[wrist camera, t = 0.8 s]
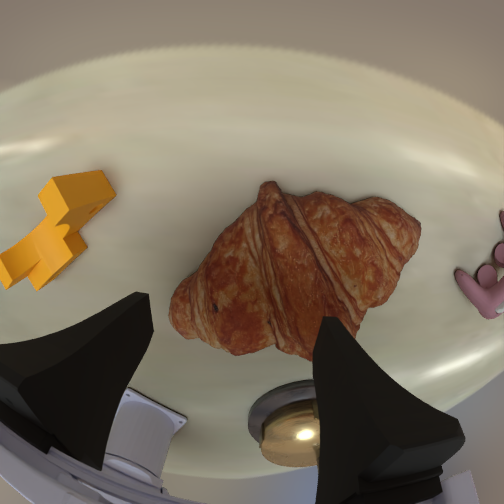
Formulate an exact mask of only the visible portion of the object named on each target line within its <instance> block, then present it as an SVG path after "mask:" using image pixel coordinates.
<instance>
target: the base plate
mask: <svg viewBox="0 0 504 504" xmlns="http://www.w3.org/2000/svg"><path fill="white" fill-rule="evenodd" d="M306 400H317V399H316V393H315V386H314V380H304V381H298V382H293V383H290V384H286V385H283V386H280V387H278V388H275V389H273V390H271V391H269V392H268V393H266V394H265V395H263V396H262V397H260V398H259V399H258V400H257V401H256V402H255V403H254V405H253V406H252V408H251V410H250V412H249V418H248V429H249V432H250V434H251V436H252V437H253V438H254V439H255V440H256V441H257V442H259V435H260V428H261V425H262V422H264V420H265V419H266V418H267V417H268V416H269V415H270V414H271V413H272V412H274V411H276V410H277V409H279V408H281V407H284V406H286V405H289V404H292V403H296V402H300V401H306Z"/></svg>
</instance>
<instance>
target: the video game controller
mask: <svg viewBox="0 0 504 504" xmlns="http://www.w3.org/2000/svg"><path fill="white" fill-rule="evenodd" d="M500 218H501V223H502V225H503V227H504V211H503V212H501V214H500ZM494 259H495V263H496V264H497V265H498V266H499V267H502V268H504V243H501V244H499V245H498V246H497V247H496V249H495V256H494ZM455 278H456V280H457V283H458V285H459V286H460V288H461V289H462V291H463V292H464V294H465V295H466V296H467V297H468V299H469V300H470V301H471V302H472V304H473V305H474V306H475V307H476V308H477V309H478V311H479V313H480V314H481V315H482V316H483V317H484V318H486V319H494V318H496V317H498V316H499V315H500V314H502V313H504V276H503V277H502V278H501V279H500V281H499V282H498V281H497V273H496V271H495V269H494V268H493V267H492V266H491V265H485V266H483V267H481V268H480V269H479V271H478V275H477V281H478V284H477V283H476V282H475V281H474V280H473V278H472V277H471V276H470V275H468V274H467V273H465V272H464V271H461V270H457V271H456V273H455Z"/></svg>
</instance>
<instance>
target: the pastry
mask: <svg viewBox="0 0 504 504" xmlns="http://www.w3.org/2000/svg"><path fill="white" fill-rule="evenodd" d="M420 236H421V223H420V222H419V221H418V220H416V219H415V218H414V217H412V216H410V215H408V214H407V213H406V212H405V211H404V210H403V209H401V208H400V207H398V206H397V205H396V204H395V203H393V202H391V201H389V200H386V199H382V198H379V197H371V198H368V199H365V200H362V201H358V202H355V203H352V204H349V203H348V202H346V201H344V200H343V199H341V198H338V197H335V196H334V195H331V194H325V193H323V192H317V191H316V192H314V193H312V194H311V195H307V196H304V197H297V196H294V195H292V196H291V195H289V194H284V193H282V192H281V189H280V188H279V187H278V185H277V183H276V182H275V181H269V182H264V183H263V184H262V185H261V186H260V190H259V193H258V198H257V202H256V203H255V204H253V205H251V207H249V208H247V209H246V210H245V211H244V212H243V213H242V215H241V216H240V217H239V218H238V219H237V220H236V221H235V222H234V223H233V224H232V225H230V226H228V227H227V228H225V230H224V231H223V232H222V233H221V234H220V235H219V237H218V238H217V240H216V241H215V243H214V245H213V247H212V250H211V252H210V253H208V255H207V256H206V258H205V259H204V261H203V262H202V263H201V264H200V266H199V269H198V271H197V272H195V273H194V274H193V275H191V276H190V277H188V278H186V279H184V280H183V281H182V282H181V283H180V284H179V286H178V287H177V288H176V290H175V292H174V294H173V296H172V298H171V303H170V309H169V314H168V316H169V320H170V323H171V324H172V326H173V327H174V329H175V330H176V331H178V332H179V333H180V334H181V335H182V336H183V337H184V338H186V339H194V338H200V339H201V340H202V341H204V342H206V343H208V344H210V345H211V346H212V347H214V348H217V349H220V348H222V349H224V350H225V351H226V352H230V353H231V354H232V355H235V356H239V355H244V354H248V353H254V352H256V351H259V350H261V349H263V348H265V347H268V346H270V345H273V344H276V345H275V346H276V348H277V349H279V350H281V351H282V352H285V353H287V354H290V355H293V354H295V355H299V356H300V357H303V358H305V359H307V360H309V361H312V352H313V349H314V346H315V342H316V339H317V335H318V332H319V328H320V325H321V321H322V318H323V316H331V317H338V318H339V320H340V321H341V322H342V323H343V325H344V326H345V327H346V328H347V330H348V331H349V332H350V334H351V335H352V336H353V337H354V339H355V337H356V333H357V331H358V330H359V328H360V323H361V322H362V320H363V318H364V315H365V314H366V312H367V309H368V308H374V307H377V306H380V305H382V304H384V303H385V302H386V301H387V300H388V298H389V296H390V295H391V294H392V293H393V292H394V289H395V288H396V286H397V282H398V280H399V278H400V272H401V271H402V269H403V267H404V264H406V263H407V262H408V261H409V259H410V258H411V257H412V255H414V254H415V252H416V250H417V248H418V245H419V244H418V242H419V238H420ZM312 362H313V361H312Z"/></svg>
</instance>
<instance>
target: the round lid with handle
mask: <svg viewBox="0 0 504 504" xmlns="http://www.w3.org/2000/svg"><path fill="white" fill-rule="evenodd" d="M259 448H261V452H262V455H263V456H264V457H265V458H266V459H267V460H269V461H270V462H272V463H275V464H278V465H281V466H287V467H307V466H314V465H317V466H318V473H319V454H320V424H319V414H318V406H317V400H306V401H300V402H296V403H292V404H289V405H286V406H284V407H281V408H279V409H277V410H276V411H274V412H272V413H271V414H270V415H269V416H268V417H267V418H266V419H265V420H264V422H262V425H261V428H260V435H259Z"/></svg>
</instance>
